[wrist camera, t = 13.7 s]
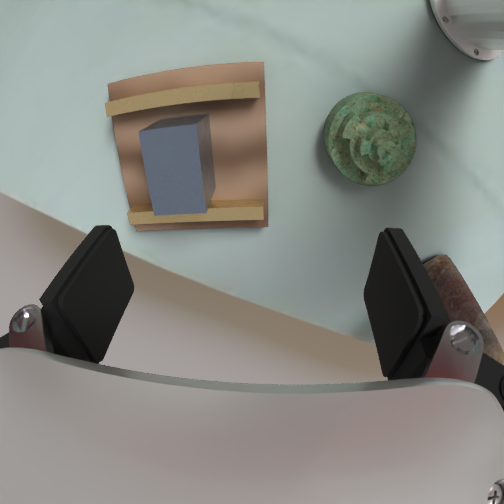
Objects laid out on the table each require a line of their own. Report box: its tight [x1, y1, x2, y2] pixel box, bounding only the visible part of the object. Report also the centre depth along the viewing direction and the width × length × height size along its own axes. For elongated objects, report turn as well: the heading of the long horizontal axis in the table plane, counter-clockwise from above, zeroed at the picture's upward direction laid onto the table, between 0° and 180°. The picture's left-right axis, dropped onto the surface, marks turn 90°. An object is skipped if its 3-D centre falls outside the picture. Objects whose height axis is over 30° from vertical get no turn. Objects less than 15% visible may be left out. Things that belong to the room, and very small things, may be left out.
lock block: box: [139, 114, 216, 216], centre depth 26 cm, size 8×5×6 cm, turn 3°
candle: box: [423, 255, 504, 365], centre depth 31 cm, size 8×7×20 cm
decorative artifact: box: [324, 93, 416, 186], centre depth 26 cm, size 10×7×10 cm
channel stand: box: [105, 62, 268, 231], centre depth 29 cm, size 18×16×4 cm
